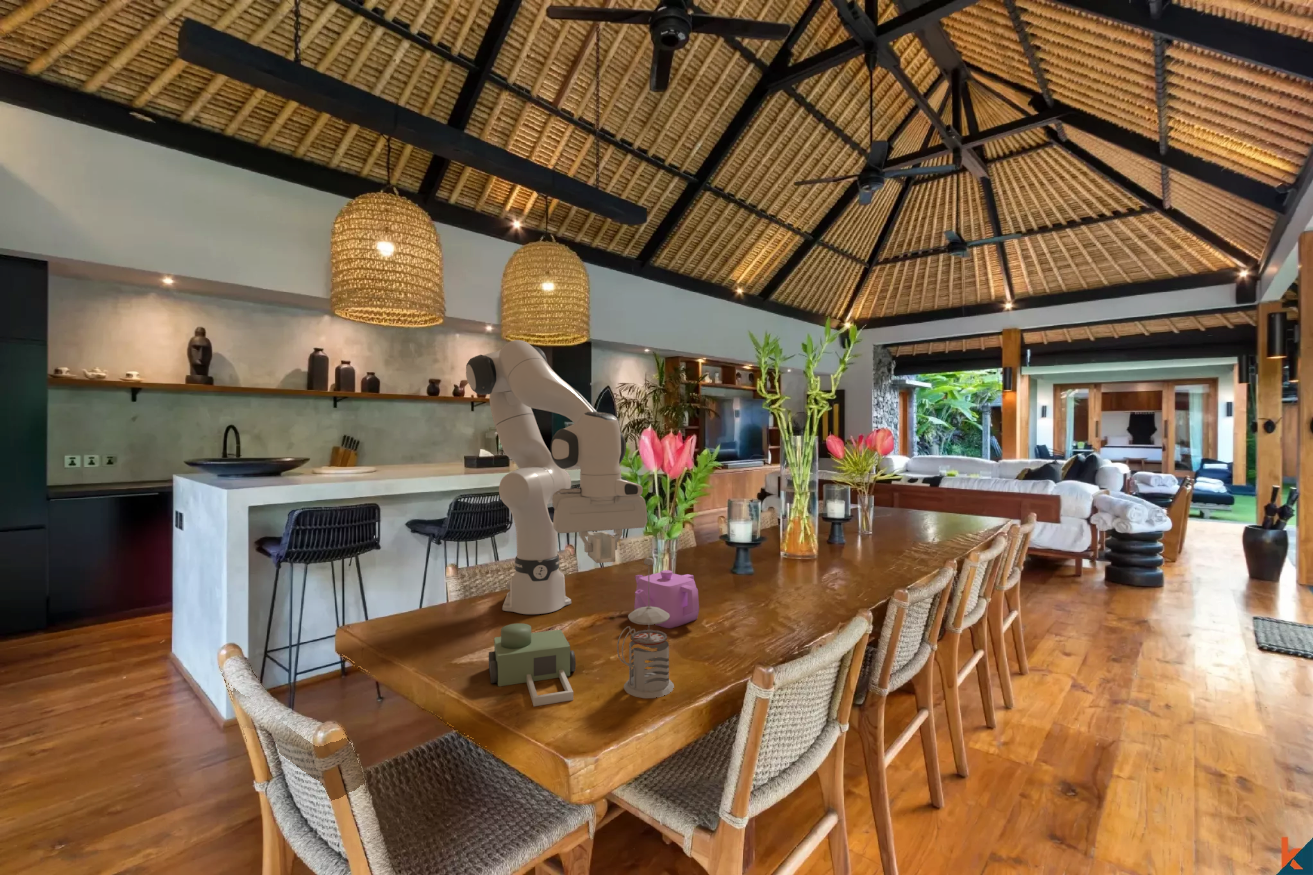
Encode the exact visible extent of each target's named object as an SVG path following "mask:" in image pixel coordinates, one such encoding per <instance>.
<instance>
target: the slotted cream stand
mask: <svg viewBox="0 0 1313 875" xmlns="http://www.w3.org/2000/svg"><path fill="white" fill-rule="evenodd" d="M587 541H588V543H592V544H593V548H592V549H593V552H588V553H587V556H588V557H589V558H590V559H591V560H593V562H595V563H596V564H604V563H605V564H606V563H615V562H616V550H615V538H614V536H613V535H611V534H610V533H609V532H606V530H603V531H589V532H588V536H587Z"/></svg>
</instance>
